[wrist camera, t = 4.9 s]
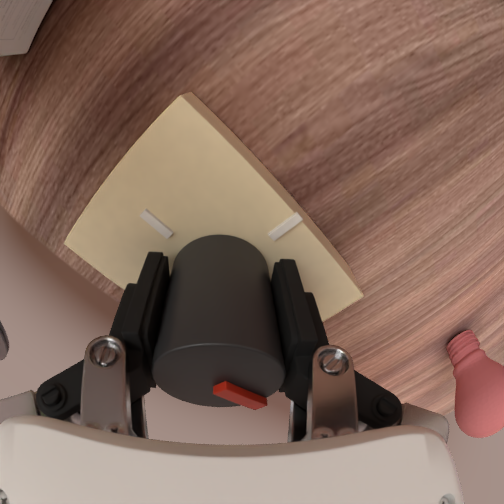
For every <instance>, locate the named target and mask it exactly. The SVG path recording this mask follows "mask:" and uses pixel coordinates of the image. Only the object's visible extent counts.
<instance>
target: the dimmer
mask: <svg viewBox="0 0 504 504" xmlns="http://www.w3.org/2000/svg"><path fill="white" fill-rule="evenodd" d="M219 234H221V235H230V236H235V237H238V238H241V239H243V240H245V241H247V242H249V243H250V244H252V245H253V246H255V247H256V248H257V249H258V250H259V251H260V252H261V254H262V255H263V256H264V258H265V260H266V262H267V266H268V271H269V276H270V282H271V277H272V273H273V268H274V263H275V262H279V260H280V259H294V260H295V262H296V265H297V268H298V272H299V275H300V278H301V281H302V285H303V288H304V292H312V293H313V295H314V297H315V301H316V304H317V307H318V310H319V313H320V316H321V320H322V322H323V321H325V320H327V319H328V318H330V317H332V316H333V315H335V314H336V313H338V312H340V311H341V310H343V309H344V308H346V307H348V306H349V305H351V304H352V303H354V302H355V301H357V300H359V299H360V298H362V297H363V296H364V295H363V293H362V291H361V289H360V287H359V285H358V283H357V281H356V279H355V277H354V275H353V273H352V271H351V269H350V267H349V265H348V264H347V263H346V261H345V260H344V259H343V258H342V256H341V255H340V254H339V253H338V251H337V250H336V249H335V248H334V246H333V245H332V244H331V243H330V241H329V240H328V239H327V238H326V237H325V235H324V234H323V233H322V232H321V230H320V229H319V228H318V227H317V226H316V224H315V223H314V222H313V221H312V220H311V218H310V217H309V216H308V215H307V214H306V213H305V211H304V210H303V209H302V208H301V207H300V206H299V204H298V203H297V202H296V201H295V200H294V199H293V197H292V196H291V195H290V194H289V193H288V192H287V191H286V189H285V188H284V187H283V186H282V185H281V184H280V183H279V182H278V180H277V179H276V178H275V177H274V176H273V175H272V174H271V173H270V172H269V171H268V169H267V168H266V167H265V166H264V165H263V164H262V163H261V162H260V161H259V160H258V159H257V157H256V156H255V155H254V154H253V153H252V152H251V151H250V150H249V149H248V148H247V147H246V146H245V145H244V144H243V143H242V142H241V141H240V140H239V139H238V137H237V136H236V135H235V134H234V133H233V132H232V131H231V130H230V129H229V128H228V127H227V126H226V125H225V124H224V123H223V122H222V121H221V120H220V119H219V118H218V117H217V116H216V115H215V114H214V113H213V112H212V111H211V110H210V109H209V108H208V107H207V106H206V105H205V104H204V103H203V102H202V101H200V100H199V99H198V98H197V97H196V96H195V95H194V94H193V93H192V92H189V93H186V94H182V95H180V96H178V97H177V98H176V99H175V100H174V101H173V102H172V103H171V104H170V105H169V106H168V107H167V108H166V109H165V110H164V111H163V112H162V113H161V114H160V116H159V117H158V118H157V119H156V120H155V121H154V122H153V123H152V124H151V125H150V126H149V127H148V129H147V130H146V131H145V132H144V133H143V134H142V135H141V136H140V138H139V139H138V140H137V141H136V142H135V143H134V144H133V146H132V147H131V148H130V149H129V150H128V152H127V153H126V154H125V155H124V157H123V158H122V159H121V160H120V162H119V163H118V164H117V165H116V167H115V168H114V169H113V170H112V172H111V173H110V174H109V176H108V177H107V178H106V180H105V181H104V182H103V184H102V185H101V186H100V188H99V189H98V191H97V192H96V193H95V195H94V196H93V198H92V199H91V201H90V202H89V204H88V205H87V207H86V208H85V209H84V211H83V213H82V214H81V216H80V217H79V219H78V220H77V222H76V223H75V225H74V227H73V228H72V230H71V231H70V233H69V235H68V236H67V238H66V240H65V241H64V244H65V245H66V246H68V247H69V248H70V249H71V250H72V251H74V252H75V253H76V254H77V255H79V256H80V257H81V258H82V259H84V260H85V261H86V262H87V263H89V264H90V265H91V266H93V267H94V268H95V269H96V270H98V271H99V272H100V273H102V274H103V275H104V276H106V277H107V278H108V279H110V280H111V281H112V282H114V283H115V284H117V285H118V286H119V287H121V288H122V289H124V290H125V288H126V286H127V284H128V283H135V284H137V281H138V278H139V275H140V273H141V270H142V267H143V265H144V262H145V259H146V257H147V254H148V252H149V251H151V252H163V255H164V256H168V262H169V274H170V275H171V271H172V267H173V263H174V260H175V258H176V256H177V254H178V253H179V251H180V250H181V249H182V248H183V247H184V246H186V245H187V244H188V243H190V242H192V241H193V240H195V239H198V238H200V237H204V236H208V235H219Z"/></svg>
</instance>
